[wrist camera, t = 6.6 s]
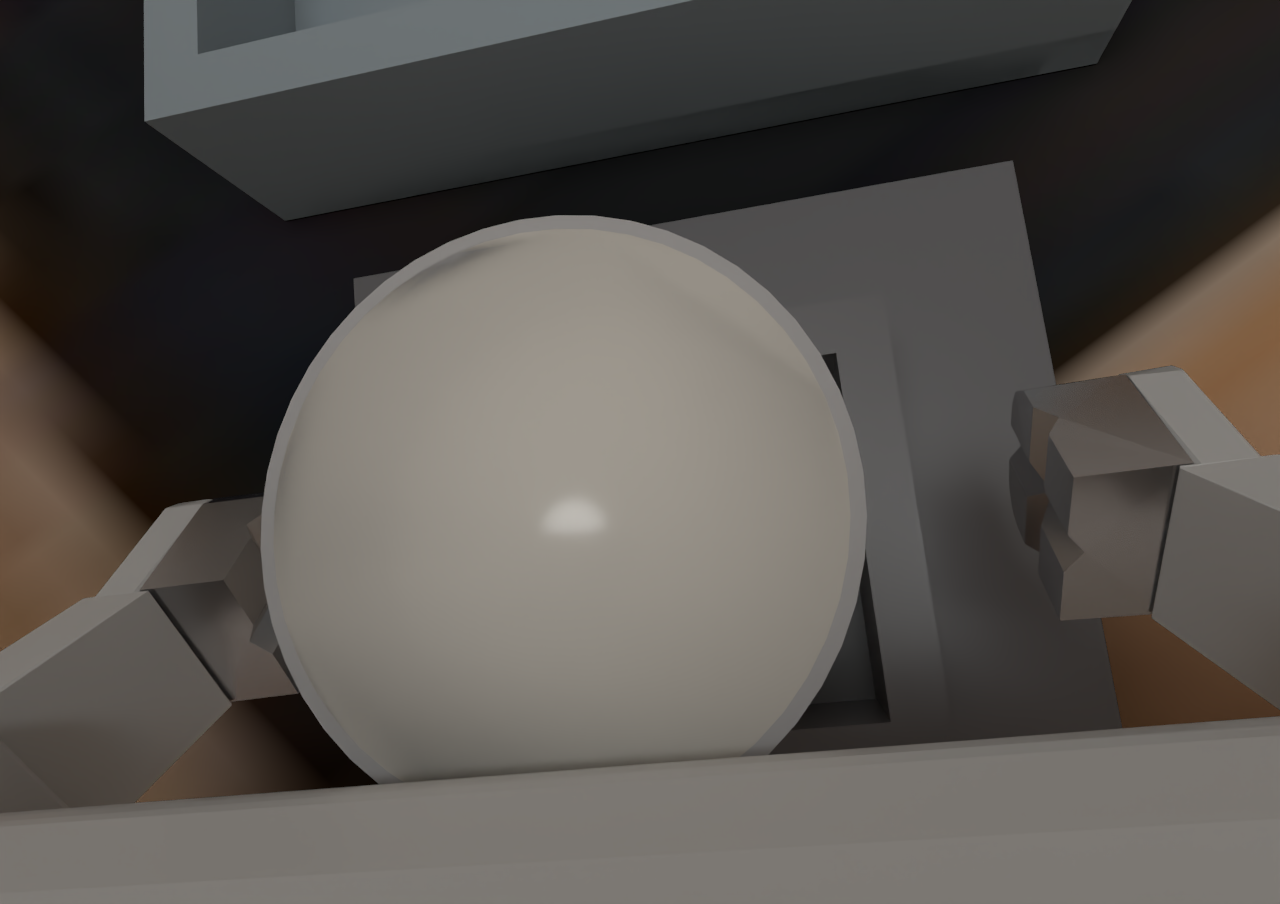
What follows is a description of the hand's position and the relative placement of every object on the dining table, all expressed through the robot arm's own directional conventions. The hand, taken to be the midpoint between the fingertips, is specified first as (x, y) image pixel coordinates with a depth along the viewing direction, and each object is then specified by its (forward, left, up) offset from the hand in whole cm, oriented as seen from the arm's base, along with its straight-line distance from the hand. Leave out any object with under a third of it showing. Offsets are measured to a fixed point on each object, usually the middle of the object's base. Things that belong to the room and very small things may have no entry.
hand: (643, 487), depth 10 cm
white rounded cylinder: (0, -1, -5) cm, 5 cm away
